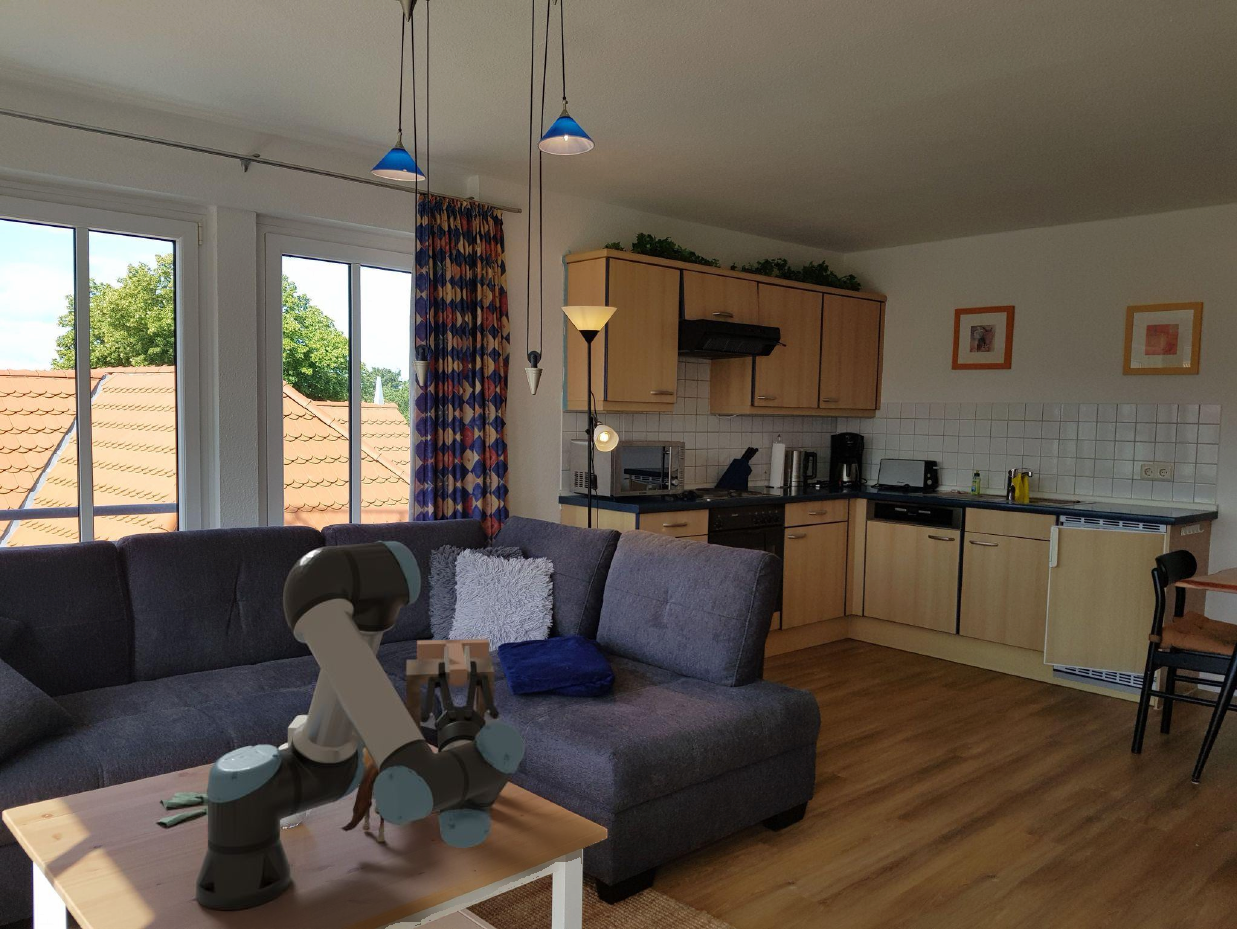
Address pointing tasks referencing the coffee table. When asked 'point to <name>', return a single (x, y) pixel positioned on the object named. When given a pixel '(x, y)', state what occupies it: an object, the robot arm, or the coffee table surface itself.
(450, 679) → the terracotta T
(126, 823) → the coffee table surface
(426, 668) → the walnut table
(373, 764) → the horse figurine
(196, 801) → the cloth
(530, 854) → the coffee table surface
